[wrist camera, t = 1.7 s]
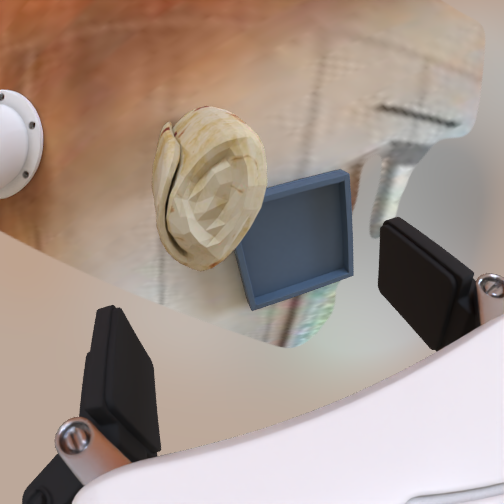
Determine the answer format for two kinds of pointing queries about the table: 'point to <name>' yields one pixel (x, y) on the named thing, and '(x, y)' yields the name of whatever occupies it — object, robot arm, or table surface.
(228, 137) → the food model
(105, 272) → the table surface
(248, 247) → the serving tray
